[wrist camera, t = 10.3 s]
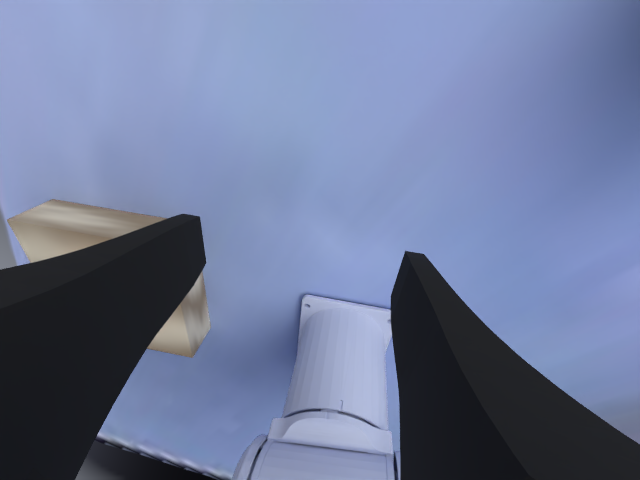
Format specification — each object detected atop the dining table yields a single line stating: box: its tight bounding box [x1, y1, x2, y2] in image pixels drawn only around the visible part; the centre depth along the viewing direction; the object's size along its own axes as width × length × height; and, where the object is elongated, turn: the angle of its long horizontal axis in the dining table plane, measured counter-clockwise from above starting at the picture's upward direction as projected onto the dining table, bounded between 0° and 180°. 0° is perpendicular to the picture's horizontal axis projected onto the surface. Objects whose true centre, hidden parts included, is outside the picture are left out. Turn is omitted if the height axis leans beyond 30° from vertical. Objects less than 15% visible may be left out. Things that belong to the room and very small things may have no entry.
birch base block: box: [7, 199, 211, 358], centre depth 25 cm, size 12×12×4 cm
